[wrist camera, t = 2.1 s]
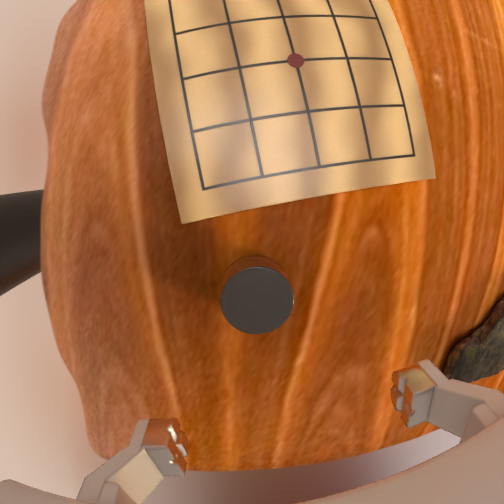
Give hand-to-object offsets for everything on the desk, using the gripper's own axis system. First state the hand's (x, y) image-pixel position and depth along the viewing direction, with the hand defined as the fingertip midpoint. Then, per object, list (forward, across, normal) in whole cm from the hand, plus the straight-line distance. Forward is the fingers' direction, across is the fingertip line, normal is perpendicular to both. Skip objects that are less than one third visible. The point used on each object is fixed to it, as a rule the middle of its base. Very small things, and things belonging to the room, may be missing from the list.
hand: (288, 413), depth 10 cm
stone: (+14, -26, +13) cm, 33 cm away
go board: (+14, -6, -16) cm, 22 cm away
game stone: (+14, 0, 0) cm, 14 cm away
